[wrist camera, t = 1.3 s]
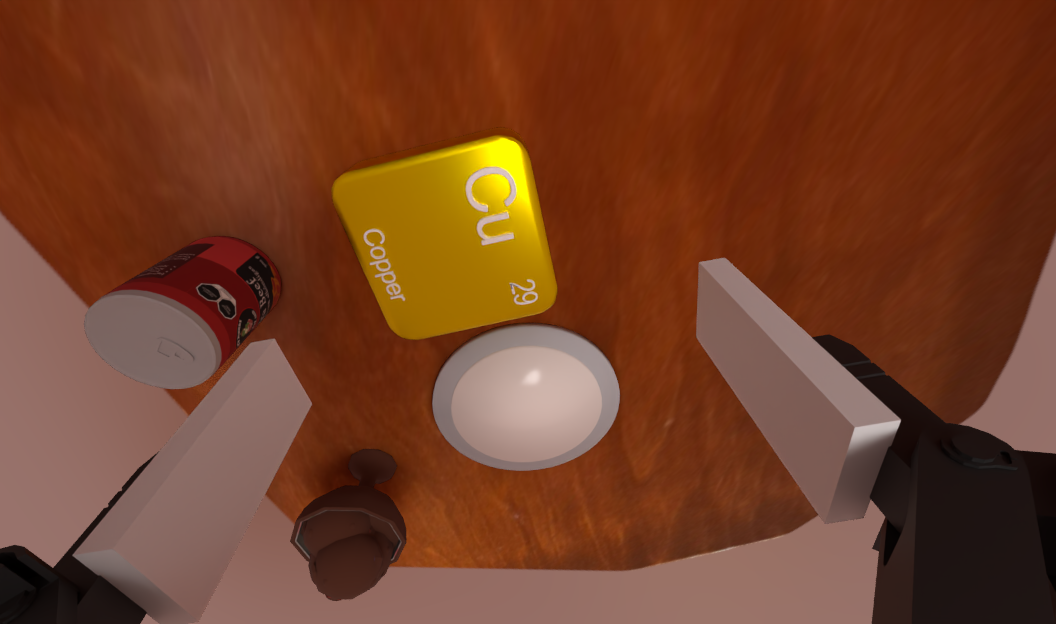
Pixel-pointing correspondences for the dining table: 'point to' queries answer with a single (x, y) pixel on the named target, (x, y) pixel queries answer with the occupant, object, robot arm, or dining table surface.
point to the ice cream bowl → (352, 530)
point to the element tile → (449, 233)
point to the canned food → (184, 313)
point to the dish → (525, 396)
